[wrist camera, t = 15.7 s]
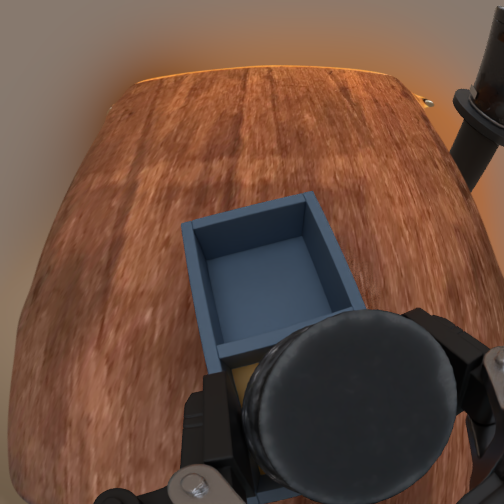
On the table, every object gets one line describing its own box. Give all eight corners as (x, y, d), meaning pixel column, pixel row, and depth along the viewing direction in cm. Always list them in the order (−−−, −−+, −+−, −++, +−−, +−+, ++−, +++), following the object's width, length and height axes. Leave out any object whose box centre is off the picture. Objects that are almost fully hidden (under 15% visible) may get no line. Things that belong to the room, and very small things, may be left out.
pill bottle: (381, 388, 15) (507, 343, 5) (326, 476, 12) (399, 558, 3) (293, 340, 17) (317, 237, 7) (234, 425, 14) (166, 450, 5)
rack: (307, 229, 25) (312, 190, 21) (384, 442, 16) (414, 450, 12) (196, 257, 24) (180, 223, 20) (252, 485, 15) (245, 507, 11)
